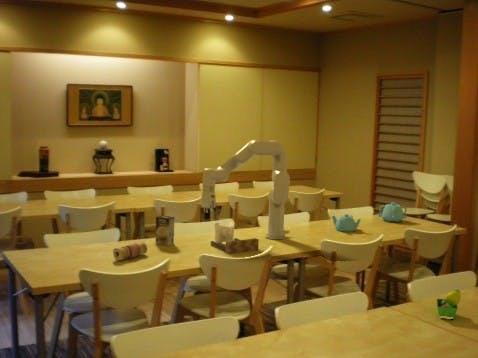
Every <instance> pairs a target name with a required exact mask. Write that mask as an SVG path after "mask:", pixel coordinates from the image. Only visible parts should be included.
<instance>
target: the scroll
mask: <svg viewBox="0 0 478 358" xmlns="http://www.w3.org/2000/svg"><path fill="white" fill-rule="evenodd" d="M146 253H148V246H147V244H146V243H145V242H139V243H134V244H128V245H125V246H121V247H118V248H116V247H114V248H113V249H112V254H113V258H114V259H115V261H120V260H123V259H126V260H132V259H135V258H136V257H137V256H139V255H145V254H146Z"/></svg>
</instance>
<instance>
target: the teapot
mask: <svg viewBox="0 0 478 358" xmlns="http://www.w3.org/2000/svg"><path fill="white" fill-rule="evenodd" d="M331 217H332V222H333V224H334V225H333V226H335V229H336V230H337V231H338V232H343V233H352V232H355V231H356V230H357V229H358V228H359V227H358V226H359V224H360V222H361V221H362V219H360V218H358V219H357V220H356V221H355V219H354V217H353V215H351V214H347V213H345V214H344V215H340V216H339V217H338V219H337V218H336V216H335V215H332V216H331Z"/></svg>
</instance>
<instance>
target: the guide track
mask: <svg viewBox="0 0 478 358" xmlns="http://www.w3.org/2000/svg"><path fill="white" fill-rule="evenodd" d="M259 241H260V240H259V239H258V238H256V237H255V238H254V237H253V238H249V239H248V238H247V239H246V238H245V239H240V238H237V237H235V238H234V241H229V242H225V245H224V244H223V243H217V242H215V241H214V240H211V241H210V246H211V247H213V246H214V247H213V248H216V249H219V250H221V251H222V252H225V253H226V254H227V255H230V254H237V253H244V252H253V251H259V244H260V243H259Z"/></svg>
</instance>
